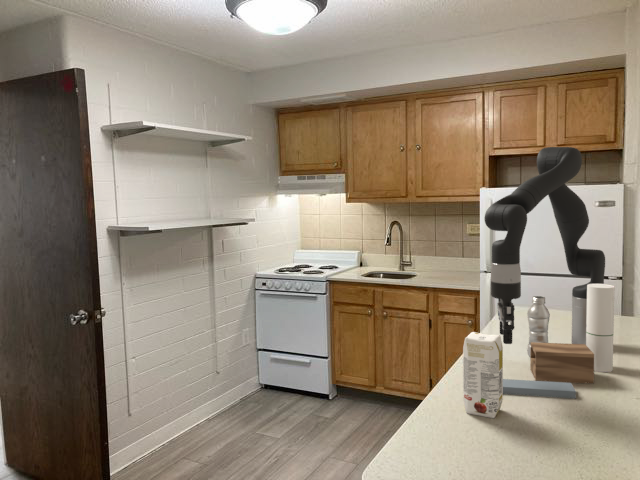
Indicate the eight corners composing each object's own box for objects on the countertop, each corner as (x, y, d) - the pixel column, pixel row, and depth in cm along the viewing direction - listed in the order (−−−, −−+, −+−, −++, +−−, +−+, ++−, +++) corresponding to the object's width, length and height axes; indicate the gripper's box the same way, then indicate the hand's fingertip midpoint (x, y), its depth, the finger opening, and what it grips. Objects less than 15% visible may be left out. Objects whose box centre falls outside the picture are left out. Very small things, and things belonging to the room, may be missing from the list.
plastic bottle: (552, 362, 161) (552, 299, 159) (529, 362, 162) (529, 299, 160) (547, 356, 167) (548, 295, 165) (525, 355, 169) (525, 295, 167)
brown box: (530, 369, 156) (530, 342, 155) (584, 372, 152) (585, 344, 151) (535, 380, 147) (535, 351, 146) (593, 383, 143) (594, 354, 142)
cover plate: (492, 386, 145) (492, 378, 144) (570, 391, 140) (570, 382, 139) (494, 394, 139) (494, 386, 139) (575, 400, 134) (575, 391, 134)
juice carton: (497, 421, 122) (497, 342, 121) (461, 413, 127) (460, 337, 125) (504, 409, 129) (504, 334, 127) (469, 402, 133) (469, 330, 131)
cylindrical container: (611, 365, 157) (613, 284, 155) (613, 373, 151) (615, 288, 148) (585, 362, 160) (586, 283, 158) (586, 370, 154) (587, 287, 151)
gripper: (524, 284, 130) (524, 347, 132) (516, 274, 144) (516, 331, 145) (493, 284, 132) (493, 346, 133) (488, 274, 146) (488, 331, 147)
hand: (505, 338), depth 139 cm, fingers open, 8 cm apart
